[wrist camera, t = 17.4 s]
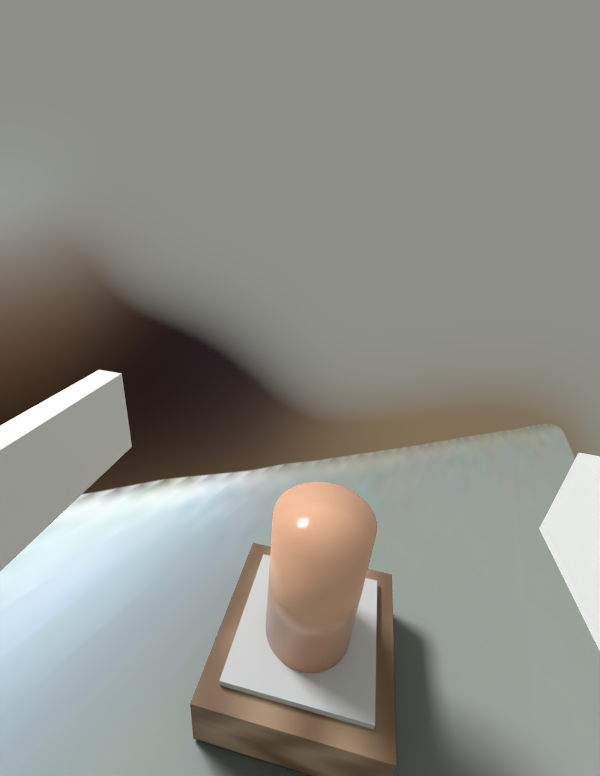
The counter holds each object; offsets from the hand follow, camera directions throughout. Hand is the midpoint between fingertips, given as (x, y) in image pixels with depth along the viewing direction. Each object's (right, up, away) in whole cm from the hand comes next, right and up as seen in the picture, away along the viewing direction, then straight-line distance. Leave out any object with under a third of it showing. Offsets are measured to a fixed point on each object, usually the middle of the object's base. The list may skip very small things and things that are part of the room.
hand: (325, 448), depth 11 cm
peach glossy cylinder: (0, -18, +19) cm, 26 cm away
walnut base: (-1, -23, +22) cm, 31 cm away
